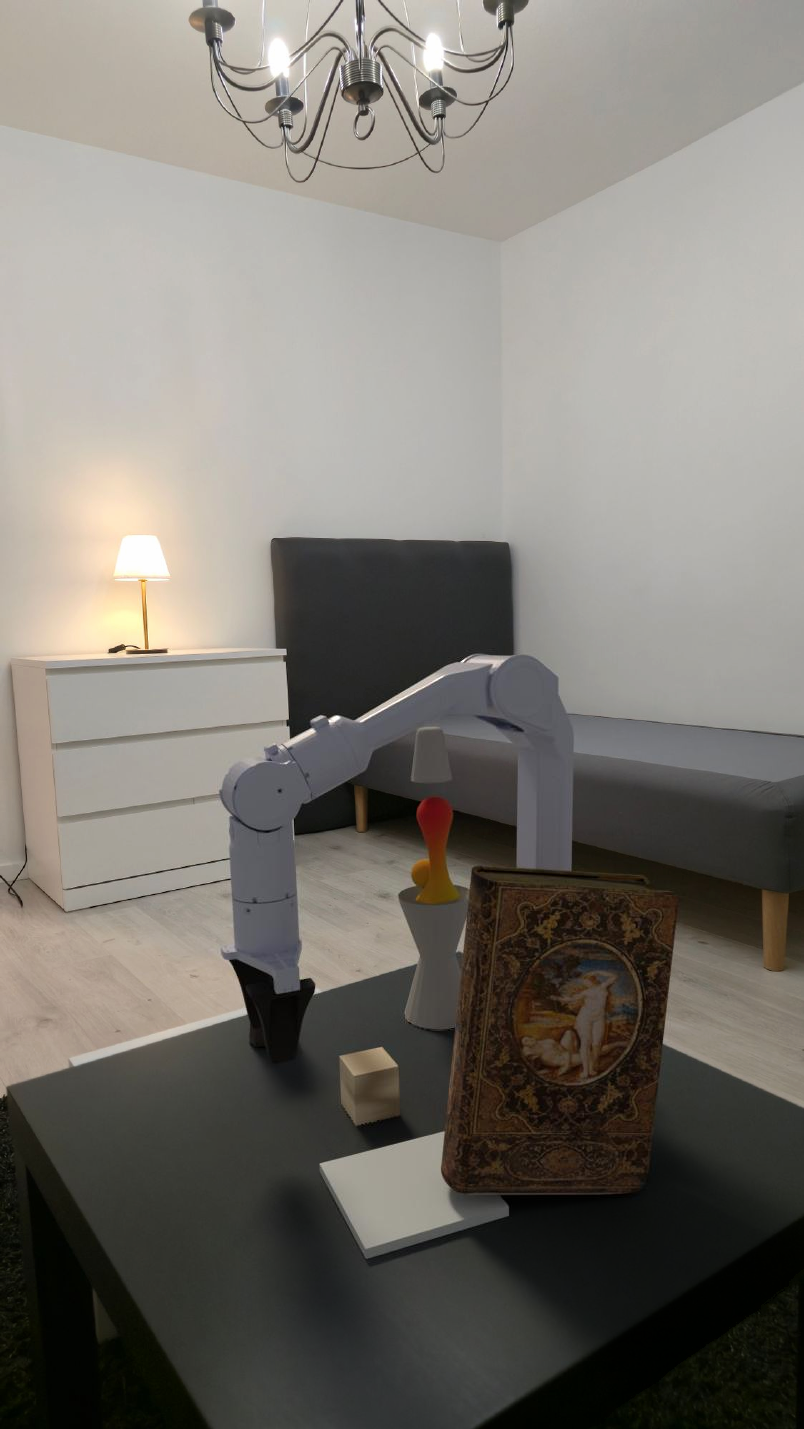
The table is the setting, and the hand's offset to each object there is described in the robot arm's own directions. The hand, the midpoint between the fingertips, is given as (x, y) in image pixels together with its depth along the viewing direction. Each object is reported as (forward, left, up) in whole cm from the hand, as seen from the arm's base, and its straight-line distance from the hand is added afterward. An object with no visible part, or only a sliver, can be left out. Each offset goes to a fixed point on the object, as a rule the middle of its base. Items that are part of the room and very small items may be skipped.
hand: (272, 1042), depth 81 cm
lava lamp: (-25, -20, -10) cm, 34 cm away
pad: (-8, +11, -10) cm, 17 cm away
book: (-18, +15, -9) cm, 25 cm away
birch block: (-10, -3, -10) cm, 15 cm away
